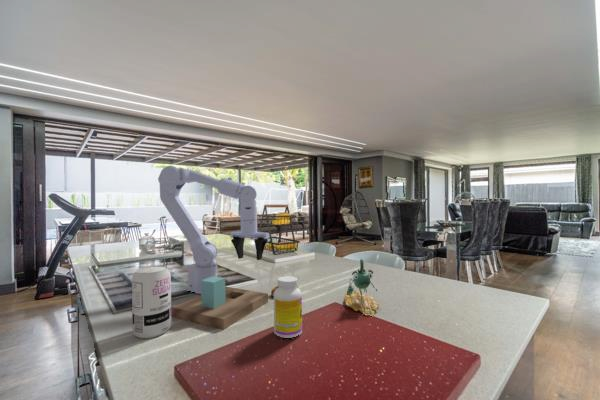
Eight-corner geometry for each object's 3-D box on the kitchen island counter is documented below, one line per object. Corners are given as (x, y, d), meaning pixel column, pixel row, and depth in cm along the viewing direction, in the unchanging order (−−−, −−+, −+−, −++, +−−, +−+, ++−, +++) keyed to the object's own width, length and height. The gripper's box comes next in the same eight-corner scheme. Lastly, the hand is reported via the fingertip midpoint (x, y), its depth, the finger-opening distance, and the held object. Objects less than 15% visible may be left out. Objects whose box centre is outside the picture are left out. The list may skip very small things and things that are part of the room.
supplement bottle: (305, 338, 64) (304, 281, 64) (275, 341, 63) (275, 284, 63) (298, 325, 71) (298, 274, 71) (272, 328, 70) (271, 275, 69)
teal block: (201, 306, 78) (201, 280, 77) (213, 300, 82) (212, 276, 81) (214, 308, 76) (213, 282, 75) (225, 303, 80) (225, 278, 80)
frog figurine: (368, 294, 94) (370, 250, 92) (387, 325, 76) (390, 271, 74) (339, 294, 93) (340, 250, 91) (351, 325, 75) (353, 271, 74)
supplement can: (142, 324, 72) (141, 265, 72) (176, 323, 73) (175, 264, 73) (125, 340, 64) (124, 274, 64) (163, 338, 65) (162, 273, 65)
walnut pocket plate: (171, 316, 77) (171, 307, 77) (222, 293, 95) (222, 285, 95) (223, 329, 69) (223, 319, 69) (268, 301, 87) (268, 293, 87)
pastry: (279, 300, 88) (279, 288, 88) (266, 295, 93) (265, 284, 93) (301, 293, 95) (300, 281, 95) (287, 289, 100) (287, 278, 100)
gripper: (224, 220, 99) (225, 259, 99) (261, 221, 93) (262, 262, 93) (236, 219, 105) (237, 255, 105) (271, 219, 100) (272, 258, 100)
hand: (249, 258), depth 100 cm, fingers open, 7 cm apart
